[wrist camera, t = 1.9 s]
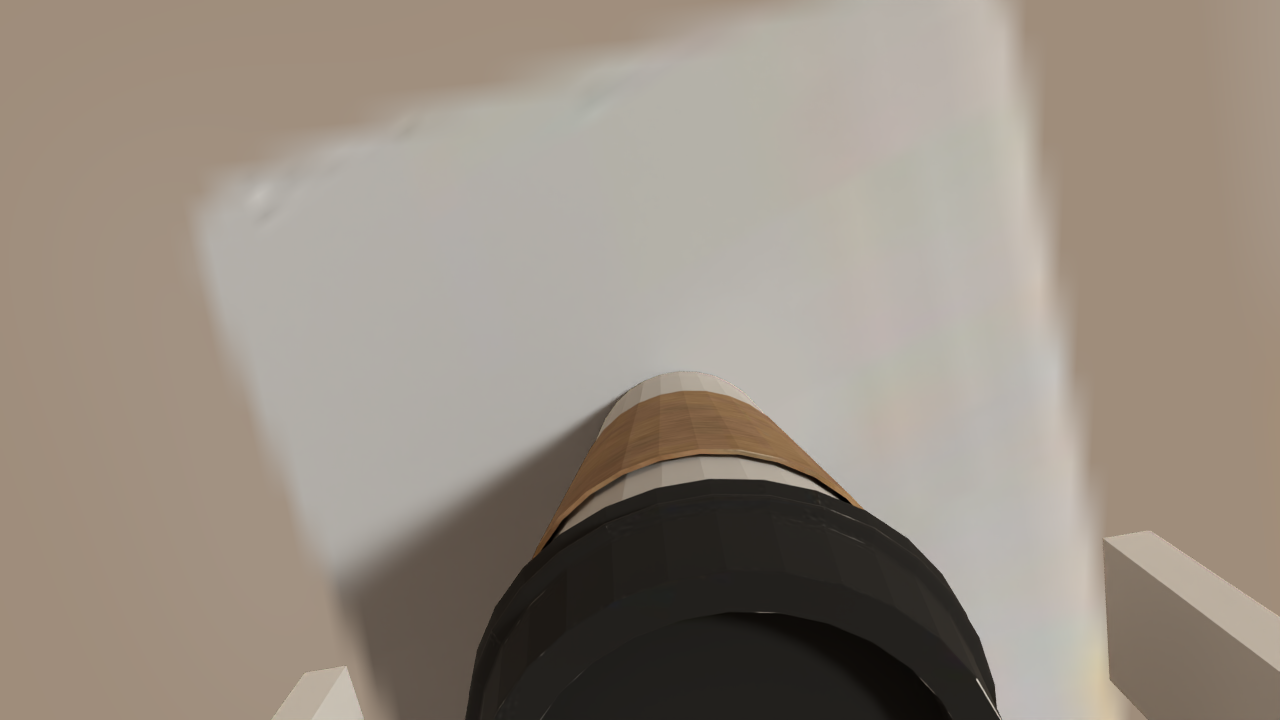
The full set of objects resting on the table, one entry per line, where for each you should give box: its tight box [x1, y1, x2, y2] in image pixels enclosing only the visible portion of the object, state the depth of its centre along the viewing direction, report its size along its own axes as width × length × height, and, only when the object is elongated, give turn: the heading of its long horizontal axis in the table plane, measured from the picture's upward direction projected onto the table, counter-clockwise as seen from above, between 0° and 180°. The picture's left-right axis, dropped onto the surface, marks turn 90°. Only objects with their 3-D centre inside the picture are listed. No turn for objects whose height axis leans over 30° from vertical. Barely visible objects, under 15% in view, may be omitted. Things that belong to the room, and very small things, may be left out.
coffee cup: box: [465, 372, 1002, 720], centre depth 16 cm, size 8×8×15 cm
